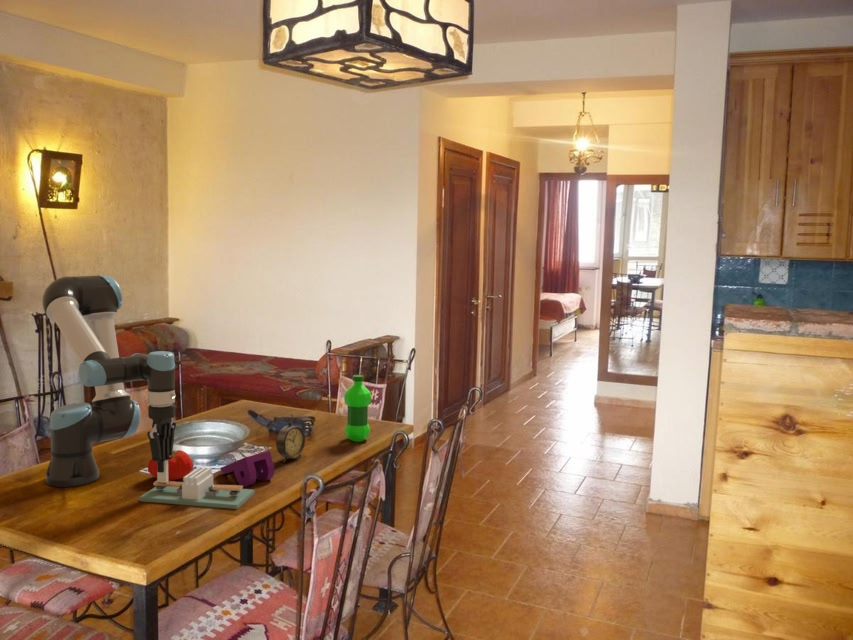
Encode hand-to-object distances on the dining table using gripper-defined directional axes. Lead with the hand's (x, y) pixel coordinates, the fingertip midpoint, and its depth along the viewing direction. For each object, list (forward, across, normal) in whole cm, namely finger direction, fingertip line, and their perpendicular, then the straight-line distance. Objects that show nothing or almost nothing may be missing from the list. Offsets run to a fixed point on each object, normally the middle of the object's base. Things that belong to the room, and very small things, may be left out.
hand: (162, 481), depth 220 cm
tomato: (+4, +15, +5) cm, 16 cm away
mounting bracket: (+5, +19, -18) cm, 27 cm away
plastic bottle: (+4, +71, -42) cm, 83 cm away
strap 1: (+1, 0, -2) cm, 3 cm away
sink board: (+4, 0, -11) cm, 12 cm away
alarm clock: (+4, +42, -25) cm, 49 cm away
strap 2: (+1, 0, -20) cm, 20 cm away
